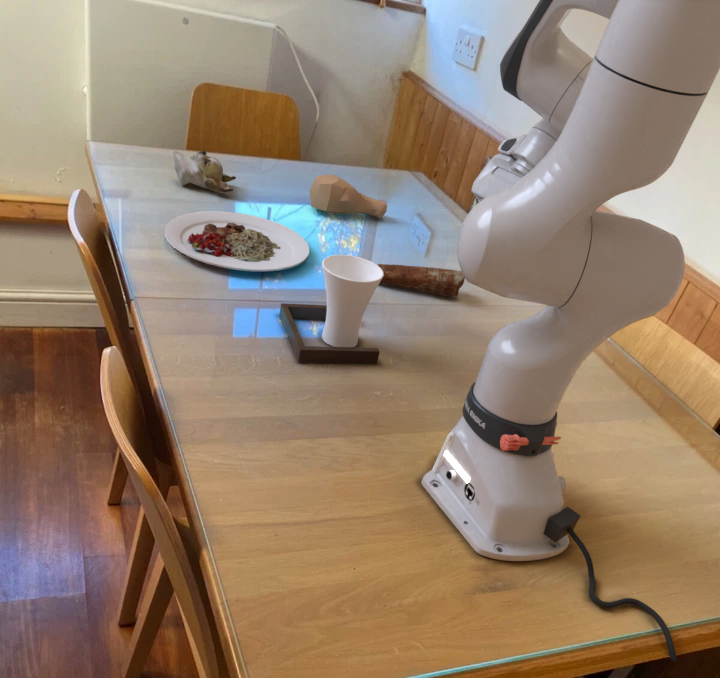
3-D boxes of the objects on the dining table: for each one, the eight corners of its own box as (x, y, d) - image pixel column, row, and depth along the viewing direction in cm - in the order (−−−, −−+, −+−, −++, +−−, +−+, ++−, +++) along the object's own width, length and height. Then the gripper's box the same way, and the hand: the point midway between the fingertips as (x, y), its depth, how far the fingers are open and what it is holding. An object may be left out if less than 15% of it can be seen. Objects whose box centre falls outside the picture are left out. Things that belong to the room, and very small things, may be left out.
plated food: (333, 253, 155) (335, 238, 153) (256, 293, 133) (258, 276, 131) (222, 209, 163) (223, 195, 161) (132, 240, 140) (132, 223, 138)
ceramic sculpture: (177, 137, 169) (239, 152, 172) (174, 174, 174) (234, 188, 177) (171, 150, 161) (236, 166, 164) (168, 188, 166) (231, 203, 169)
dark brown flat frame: (377, 364, 121) (380, 351, 119) (298, 362, 116) (300, 349, 114) (351, 318, 132) (354, 306, 131) (279, 315, 128) (280, 303, 126)
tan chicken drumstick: (300, 203, 177) (309, 165, 173) (373, 221, 184) (383, 186, 180) (309, 211, 168) (318, 172, 164) (385, 230, 175) (396, 193, 171)
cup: (322, 355, 119) (335, 281, 111) (302, 325, 126) (313, 253, 118) (377, 353, 123) (393, 282, 115) (355, 324, 131) (369, 255, 122)
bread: (458, 303, 147) (466, 278, 144) (370, 286, 145) (375, 260, 142) (456, 290, 152) (463, 266, 149) (370, 273, 150) (375, 248, 147)
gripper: (587, 190, 106) (525, 264, 110) (520, 162, 122) (468, 228, 126) (564, 163, 103) (501, 241, 106) (498, 138, 118) (445, 207, 122)
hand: (482, 234), depth 116 cm, fingers closed
